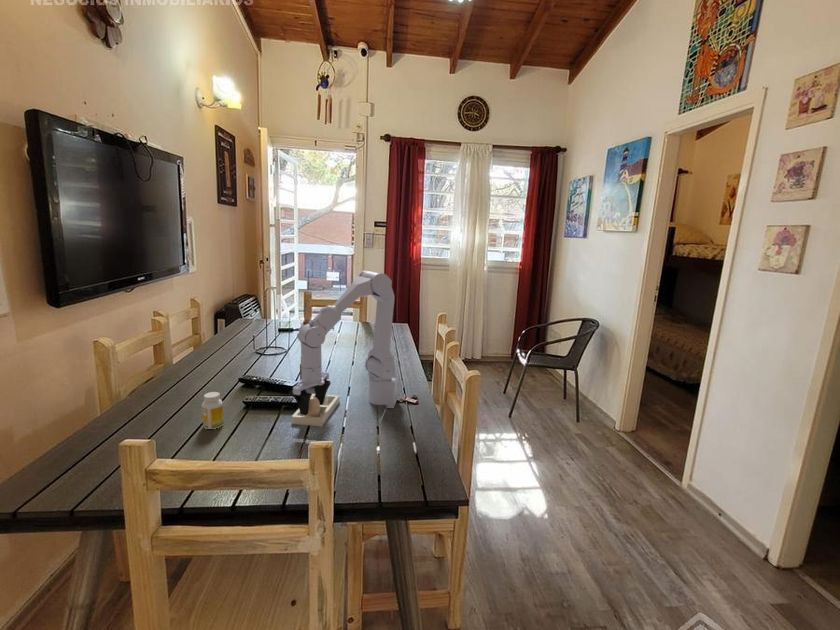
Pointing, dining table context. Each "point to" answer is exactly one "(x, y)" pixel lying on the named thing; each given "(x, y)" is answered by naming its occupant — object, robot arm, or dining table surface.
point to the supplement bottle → (212, 411)
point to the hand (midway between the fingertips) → (312, 408)
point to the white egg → (325, 400)
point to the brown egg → (314, 407)
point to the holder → (324, 413)
